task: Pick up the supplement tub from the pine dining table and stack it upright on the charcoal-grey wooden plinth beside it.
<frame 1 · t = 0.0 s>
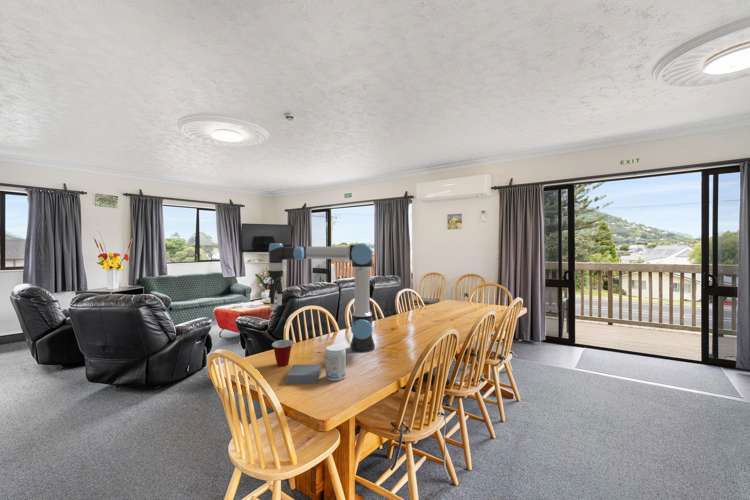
hand: (276, 307, 197), 28 cm above the table, fingers open, 13 cm apart
plinth: (304, 377, 165), on the table
supplement tub: (335, 378, 165), on the table
plastic cup: (282, 365, 183), on the table
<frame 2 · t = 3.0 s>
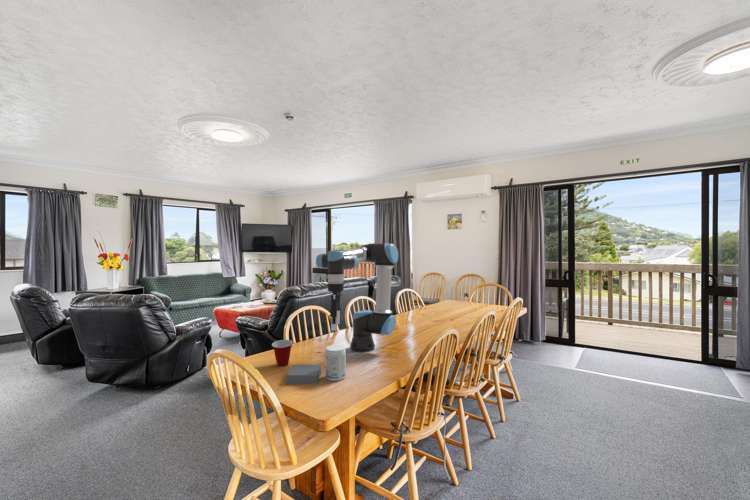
hand: (335, 327, 165), 24 cm above the table, fingers open, 13 cm apart
nothing on the table moved.
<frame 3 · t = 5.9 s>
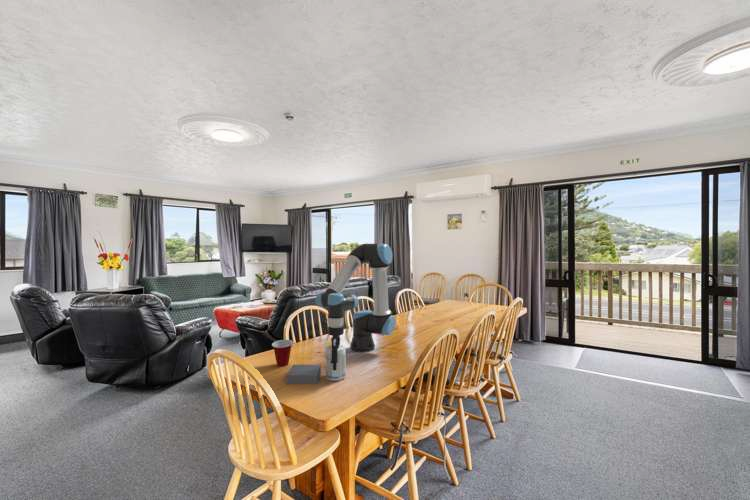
hand: (335, 372, 165), 3 cm above the table, fingers closed on supplement tub, 9 cm apart
supplement tub: (335, 378, 165), on the table, touching gripper
everything else where it was.
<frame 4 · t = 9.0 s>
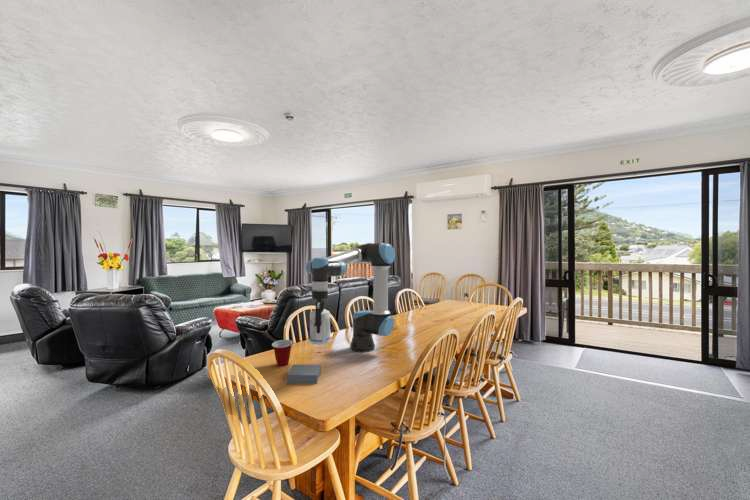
hand: (319, 336, 165), 20 cm above the table, fingers closed on supplement tub, 9 cm apart
supplement tub: (319, 342, 165), point 17 cm above the table, touching gripper
everything else where it was.
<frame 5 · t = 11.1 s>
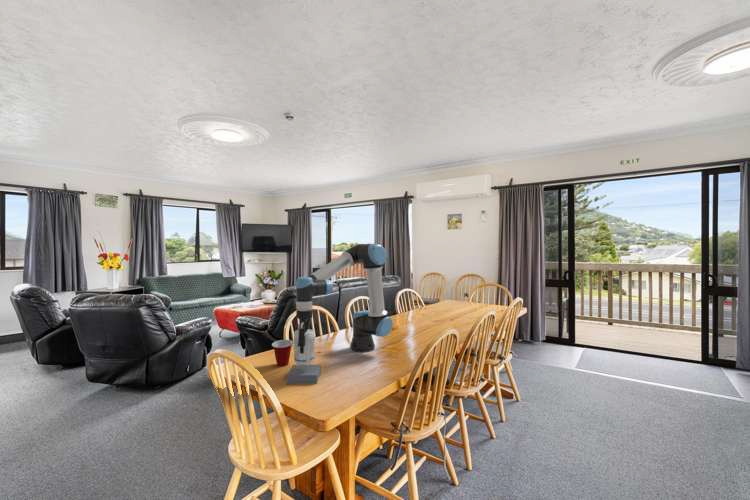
hand: (304, 356, 165), 11 cm above the table, fingers closed on supplement tub, 9 cm apart
supplement tub: (304, 362, 165), point 8 cm above the table, touching gripper
everything else where it was.
when the fingers open (8 cm above the table, at t = 12.6 s): supplement tub drops 1 cm, resting on plinth.
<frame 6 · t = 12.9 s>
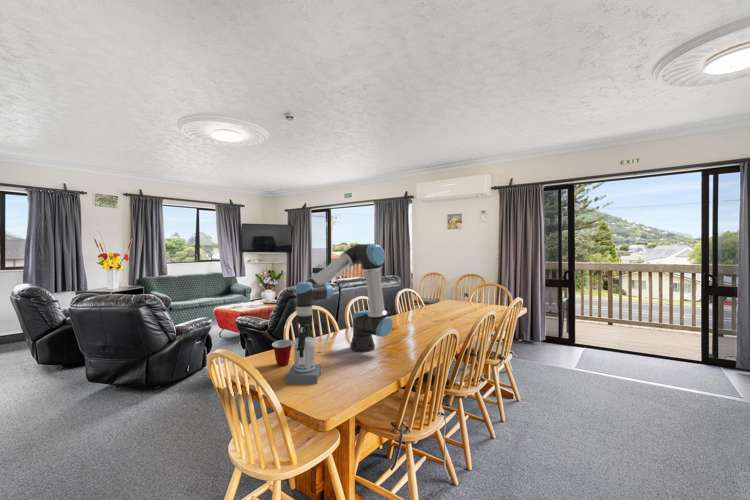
hand: (304, 358, 165), 9 cm above the table, fingers open, 13 cm apart
supplement tub: (304, 369, 165), point 4 cm above the table, touching plinth
everything else where it was.
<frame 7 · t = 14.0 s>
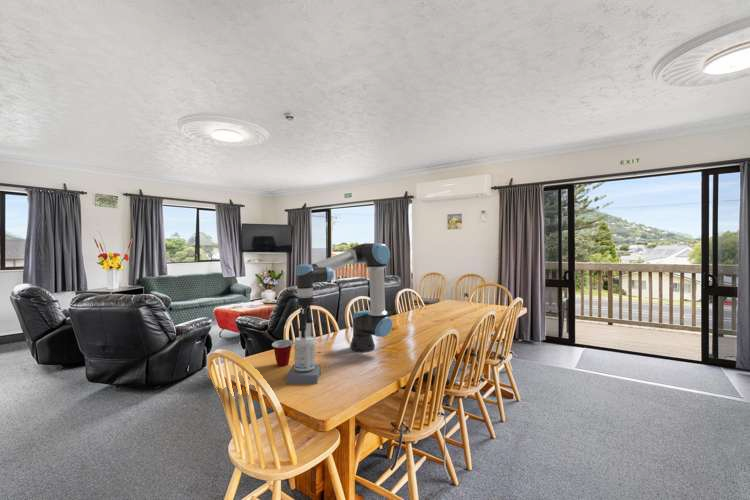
hand: (306, 340, 167), 18 cm above the table, fingers open, 13 cm apart
supplement tub: (304, 369, 165), point 4 cm above the table, touching gripper, plinth
everything else where it was.
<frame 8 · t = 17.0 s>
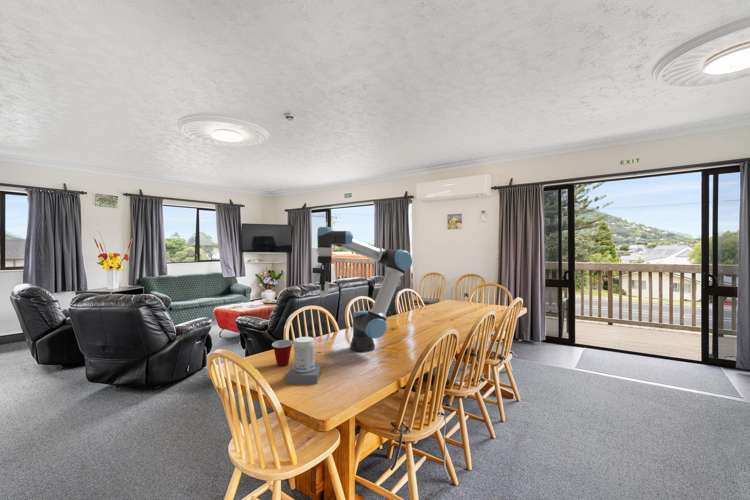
hand: (324, 295, 186), 37 cm above the table, fingers open, 13 cm apart
supplement tub: (304, 370, 165), point 4 cm above the table, touching plinth
everything else where it was.
at the end: supplement tub inside the target area on the plinth (0.1 cm from its centre), point 3.8 cm above the plinth's base; supplement tub tilted 0°; the gripper is holding nothing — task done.
